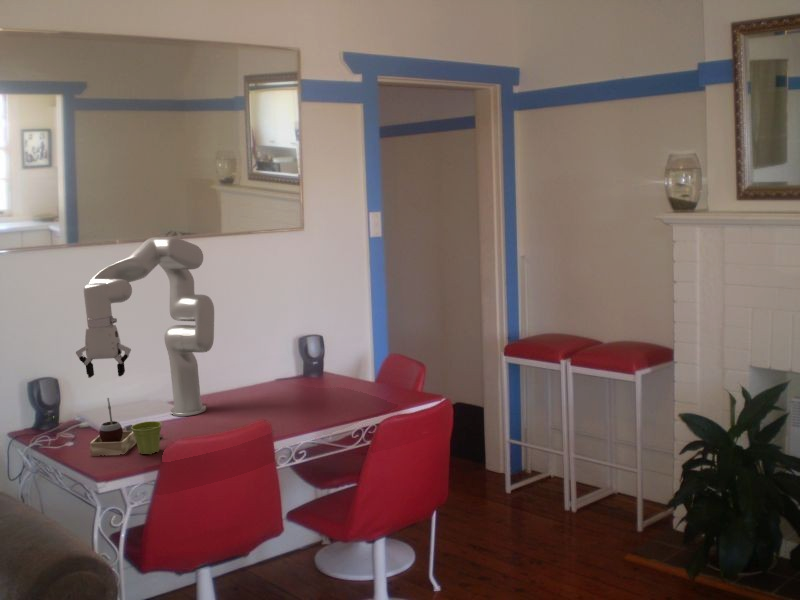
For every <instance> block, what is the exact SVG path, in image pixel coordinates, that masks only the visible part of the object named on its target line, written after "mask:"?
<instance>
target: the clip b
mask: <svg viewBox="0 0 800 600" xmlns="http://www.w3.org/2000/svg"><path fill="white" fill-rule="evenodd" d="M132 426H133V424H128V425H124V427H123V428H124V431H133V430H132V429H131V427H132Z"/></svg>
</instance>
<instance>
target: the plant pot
mask: <svg viewBox="0 0 800 600" xmlns="http://www.w3.org/2000/svg"><path fill="white" fill-rule="evenodd" d="M162 426H163V423H162V422H161V421H154V420H152V421H143V422H138V423H135V424H132V427H131V429H132V430H133V433H134V434H135V438H136V442H137V443H136V445H137V450H138V453H139V454H140V453H141V454H140V455H142V454H150V455H152V454H151V453H153V454H154V453H155V452H157V453H159V451H160V445H161V444H160V443H161V442H160V441H161V440H160V439H161V438H160V435H161V430H162Z"/></svg>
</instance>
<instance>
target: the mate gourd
mask: <svg viewBox="0 0 800 600" xmlns="http://www.w3.org/2000/svg"><path fill="white" fill-rule="evenodd" d="M106 400H107V409H108V414H109V421H105V422H103V423H102V424H101V425H100V427H99V432H98V433H99V435H100V438H101V440H102V442H120V441H121V438H122V434H123V431H124V430H123V427H122V425H121V423H120V422H119V421H115V420H113V416H112V410H111V409H112V408H111V402H110V398H109V397H107V398H106ZM99 435H98V436H99Z"/></svg>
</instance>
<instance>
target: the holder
mask: <svg viewBox="0 0 800 600" xmlns="http://www.w3.org/2000/svg"><path fill="white" fill-rule="evenodd" d="M135 445H137V442H136V438H135V434H134V433H133V431H125V430H123V434H122V438H121V441H120V442H102V440H101V438H100V435H97V436H96V437H95V438H94V439H93V440H91V442H90V443H89V453H90V457H98V456H100V455H102V456H104V455H105V456H121V455H120V454H125V453H126V452H127V451H128V450H129V449H130V450H131V449H132V448H133V447H134V446H135ZM130 450H129V451H130ZM129 451H128V452H129ZM128 452H127V453H128ZM127 453H126V454H127ZM126 454H125V455H126ZM102 456H101V457H102Z"/></svg>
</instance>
